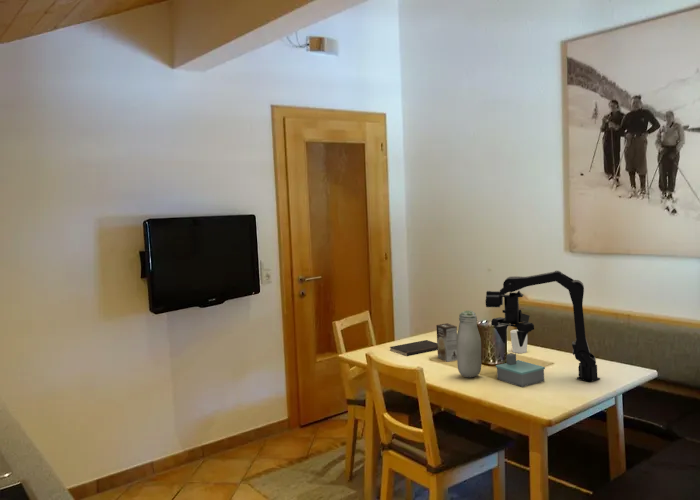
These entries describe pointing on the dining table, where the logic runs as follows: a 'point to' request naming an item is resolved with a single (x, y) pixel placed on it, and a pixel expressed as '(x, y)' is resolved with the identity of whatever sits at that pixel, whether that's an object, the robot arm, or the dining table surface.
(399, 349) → the hardcover book
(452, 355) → the coffee box
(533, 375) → the parts tub
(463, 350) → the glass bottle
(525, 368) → the lid
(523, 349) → the white cup
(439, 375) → the dining table surface
